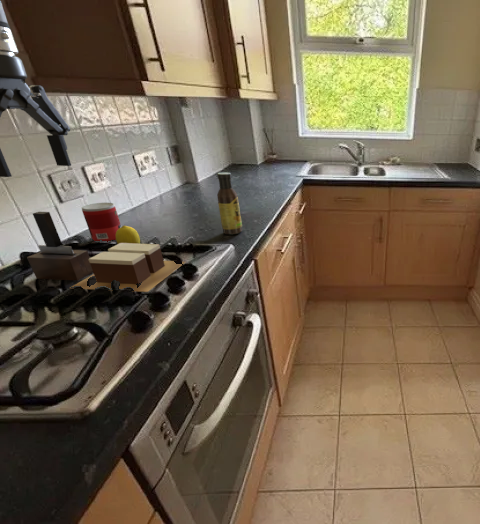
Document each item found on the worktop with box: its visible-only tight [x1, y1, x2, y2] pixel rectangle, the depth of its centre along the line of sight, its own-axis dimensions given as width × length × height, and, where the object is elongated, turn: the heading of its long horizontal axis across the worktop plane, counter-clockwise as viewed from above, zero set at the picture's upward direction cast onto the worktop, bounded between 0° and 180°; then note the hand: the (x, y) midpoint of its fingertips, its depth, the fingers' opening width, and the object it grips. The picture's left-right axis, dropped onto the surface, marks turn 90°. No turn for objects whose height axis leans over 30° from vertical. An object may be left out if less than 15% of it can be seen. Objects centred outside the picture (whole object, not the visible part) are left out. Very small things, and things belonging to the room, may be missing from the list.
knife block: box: [26, 249, 93, 282], centre depth 79 cm, size 10×5×7 cm, turn 87°
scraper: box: [32, 211, 74, 256], centre depth 77 cm, size 8×2×16 cm, turn 87°
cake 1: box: [89, 251, 151, 284], centre depth 77 cm, size 10×4×6 cm, turn 88°
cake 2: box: [107, 243, 165, 273], centre depth 82 cm, size 10×4×6 cm, turn 87°
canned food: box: [81, 202, 122, 242], centre depth 102 cm, size 8×8×11 cm
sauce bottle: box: [216, 171, 243, 236], centre depth 109 cm, size 6×6×20 cm
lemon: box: [115, 224, 141, 244], centre depth 95 cm, size 6×6×8 cm
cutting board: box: [69, 260, 187, 293], centre depth 81 cm, size 18×16×2 cm
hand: (36, 170), depth 70 cm, fingers open, 13 cm apart
